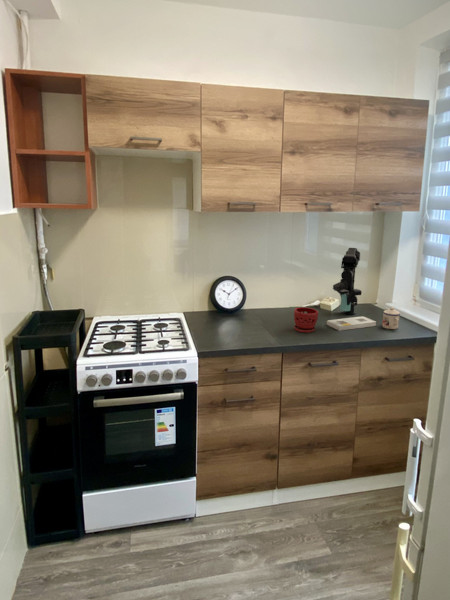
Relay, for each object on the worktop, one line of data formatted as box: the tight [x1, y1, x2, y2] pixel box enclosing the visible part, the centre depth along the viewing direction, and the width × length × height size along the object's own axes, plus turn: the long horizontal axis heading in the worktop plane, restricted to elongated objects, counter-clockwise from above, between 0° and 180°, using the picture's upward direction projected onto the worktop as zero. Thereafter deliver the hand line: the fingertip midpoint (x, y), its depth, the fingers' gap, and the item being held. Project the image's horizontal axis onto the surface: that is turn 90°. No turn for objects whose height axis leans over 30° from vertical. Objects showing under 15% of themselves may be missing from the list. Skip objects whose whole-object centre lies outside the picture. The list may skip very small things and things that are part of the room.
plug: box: [339, 294, 351, 312], centre depth 242 cm, size 4×4×10 cm
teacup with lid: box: [382, 307, 401, 330], centre depth 242 cm, size 12×9×12 cm
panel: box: [326, 316, 377, 332], centre depth 247 cm, size 12×26×3 cm, turn 111°
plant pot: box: [293, 306, 319, 334], centre depth 236 cm, size 13×13×12 cm
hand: (345, 304), depth 242 cm, fingers closed on plug, 4 cm apart
